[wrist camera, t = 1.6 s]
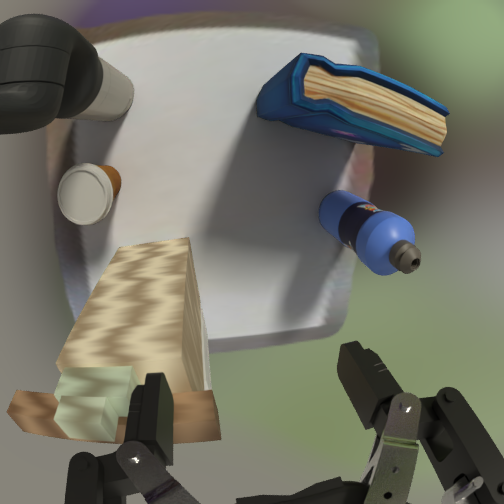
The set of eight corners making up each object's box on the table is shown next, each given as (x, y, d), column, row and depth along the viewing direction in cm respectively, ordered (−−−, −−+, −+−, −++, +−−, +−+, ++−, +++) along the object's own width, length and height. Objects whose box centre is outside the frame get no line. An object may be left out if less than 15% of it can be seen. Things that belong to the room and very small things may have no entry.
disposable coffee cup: (74, 190, 46) (45, 206, 36) (99, 147, 44) (72, 151, 34) (113, 217, 50) (92, 239, 39) (139, 174, 48) (122, 186, 37)
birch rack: (136, 308, 58) (99, 479, 23) (119, 247, 52) (34, 413, 17) (200, 300, 60) (213, 481, 24) (189, 237, 54) (180, 419, 19)
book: (248, 119, 47) (289, 107, 25) (255, 82, 45) (300, 42, 22) (356, 143, 52) (447, 160, 29) (362, 110, 49) (454, 110, 27)
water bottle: (329, 182, 54) (409, 221, 32) (365, 199, 57) (448, 243, 34) (310, 225, 57) (376, 287, 34) (347, 239, 60) (418, 300, 37)
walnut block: (31, 409, 26) (23, 431, 22) (16, 389, 24) (6, 412, 20) (217, 411, 29) (221, 439, 25) (211, 389, 27) (215, 420, 24)
